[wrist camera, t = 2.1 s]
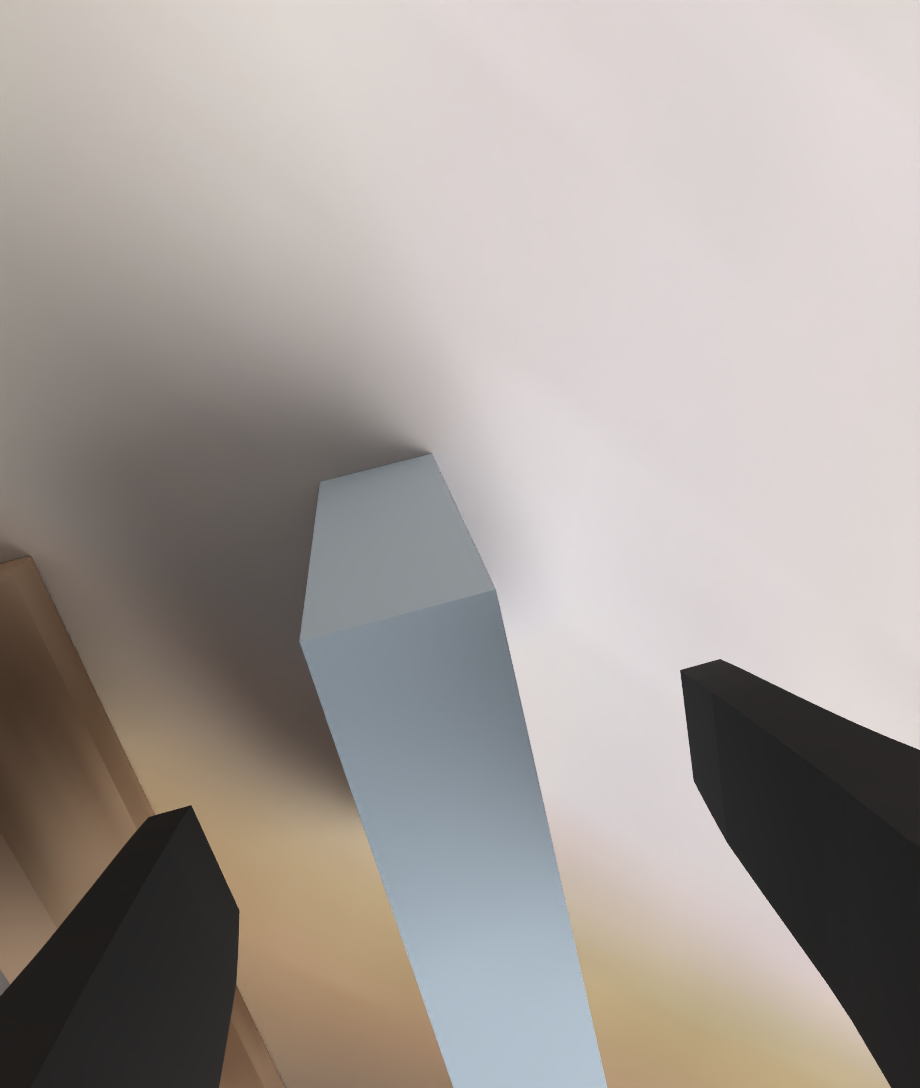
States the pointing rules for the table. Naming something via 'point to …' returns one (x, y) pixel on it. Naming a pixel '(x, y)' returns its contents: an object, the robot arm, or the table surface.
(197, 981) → the robot arm
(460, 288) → the table surface
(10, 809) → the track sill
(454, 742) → the door panel
